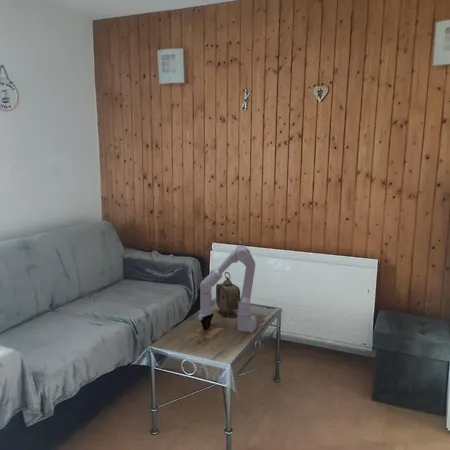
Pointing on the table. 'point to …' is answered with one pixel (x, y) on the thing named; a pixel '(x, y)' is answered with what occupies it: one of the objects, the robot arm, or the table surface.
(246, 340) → the table surface
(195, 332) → the laid row
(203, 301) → the robot arm
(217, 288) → the tabletop clock
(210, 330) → the board
